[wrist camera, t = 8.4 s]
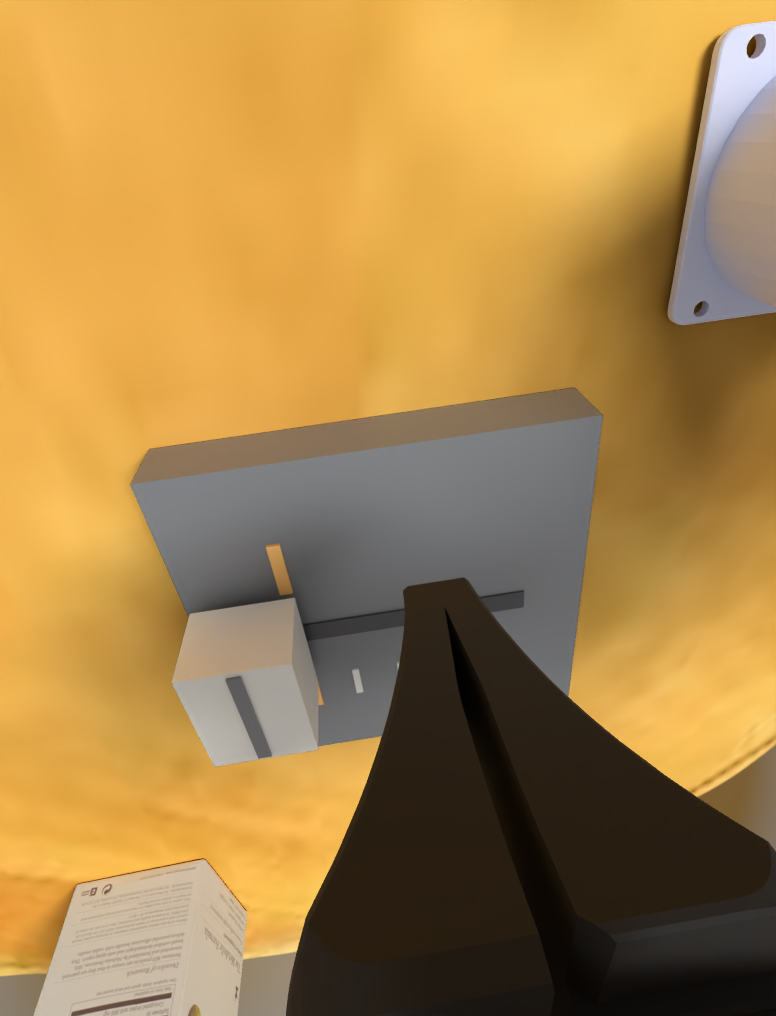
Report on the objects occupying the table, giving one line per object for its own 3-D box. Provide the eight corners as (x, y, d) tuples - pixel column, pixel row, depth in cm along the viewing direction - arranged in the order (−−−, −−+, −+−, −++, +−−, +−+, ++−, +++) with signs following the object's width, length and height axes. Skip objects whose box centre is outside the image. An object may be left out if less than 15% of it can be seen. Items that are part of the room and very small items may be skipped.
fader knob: (295, 592, 21) (291, 666, 18) (318, 676, 24) (318, 752, 21) (191, 608, 21) (170, 685, 18) (226, 690, 24) (214, 769, 21)
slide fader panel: (574, 387, 21) (604, 416, 19) (549, 666, 30) (568, 708, 28) (149, 449, 20) (128, 486, 18) (254, 713, 29) (249, 759, 27)
